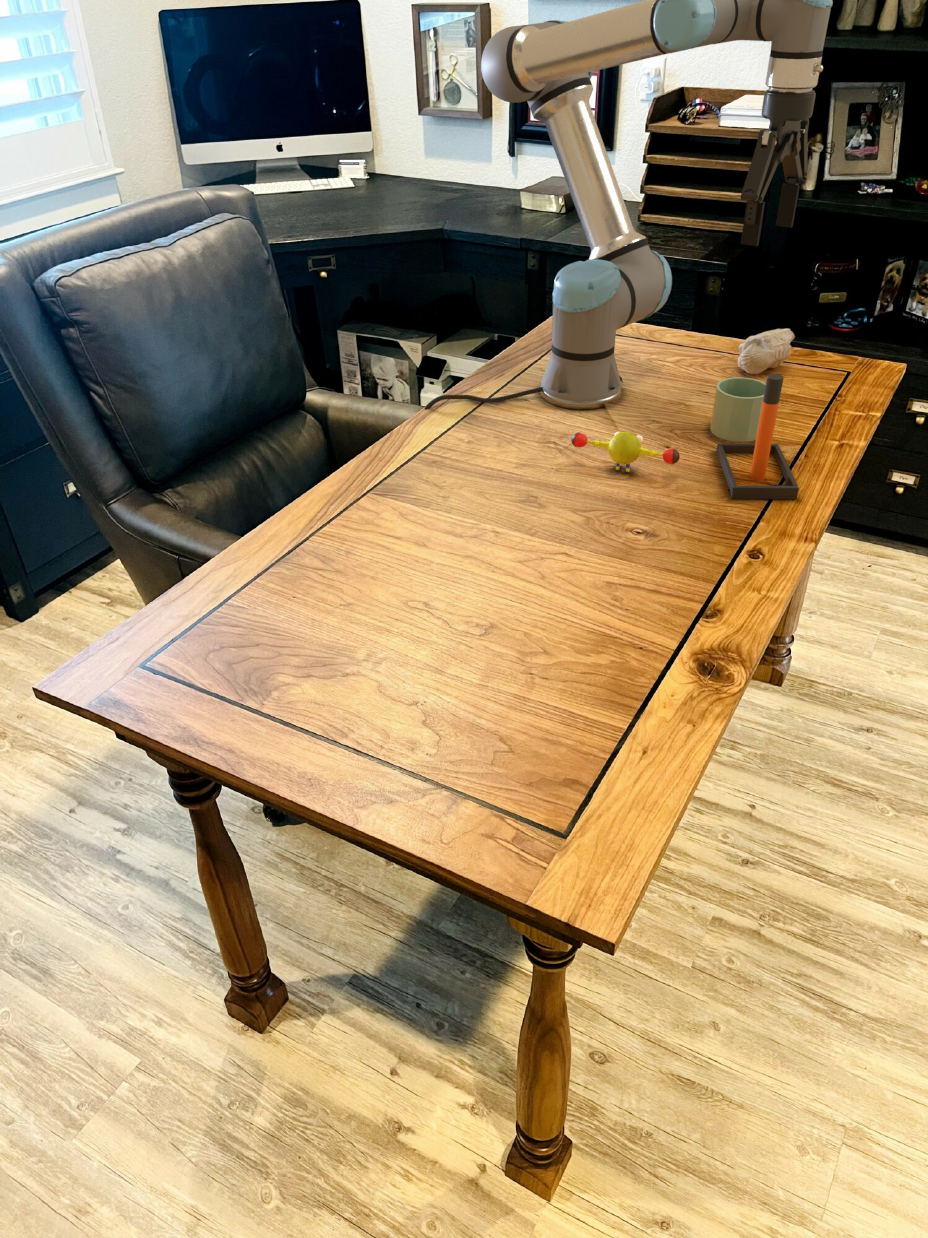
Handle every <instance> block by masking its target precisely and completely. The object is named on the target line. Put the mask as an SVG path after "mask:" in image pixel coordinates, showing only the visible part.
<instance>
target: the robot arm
mask: <svg viewBox="0 0 928 1238" xmlns="http://www.w3.org/2000/svg"><path fill="white" fill-rule="evenodd" d="M833 3H834V2H833V0H641V1H638V2H634V3H631V4H626V5H624V6H620V7H616V8H612V9H609V10H606V11H602V12H599V13H595V14H591V15H587V16H585V17H581V18H576V19H573V20H570V21H566V20H558V19H553V20H550V19H549V20H546V21H543V22H538V23H529V24H523V25H522V24H521V25H513V26H508V27H504V28H503V29H500V30H499V31H497V32H496V33H494V34H493V35H492V36H491V37H490V38H489V40H488V41H487V43H486V44H485V47H484V49H483V51H482V55H481V61H480V66H481V67H480V68H481V69H480V70H481V76H482V79H483V81H484V84H485V86H486V87H487V89H488V91H489V92H490V93H491V94H492V95H493V96H494V97H496V98H497V99H499V100H502V101H503V102H506V103H516V104H517V103H525V102H527V104H528V107H529V109H530V112H531V116H532V117H533V120H536V121H538V122H540V123H543V124H544V125H545V129H546V131H547V134H548V136H549V139H550V142H551V144H552V148H553V150H554V153H555V155H556V158H557V161H558V163H559V167H560V169H561V172H562V174H563V177H564V180H565V183H566V186H567V188H568V191H569V194H570V197H571V199H572V202H573V205H574V207H575V210H576V214H577V216H578V218H579V221H580V224H581V227H582V229H583V232H584V235H585V237H586V240H587V243H588V246H589V248H590V254H589V258H588V259H586V260H585V261H582V260H578V261H575V262H572V263H569V264H567V265H565V266H563V267H562V268H561V269H559V271H558V272H557V274H556V275H555V278H554V283H553V290H552V294H551V295H552V297H551V298H552V318H551V319H552V321H551V325H552V326H551V353H550V355H549V359H548V361H547V363H546V367H545V370H544V372H543V375H542V378H541V382H540V386H539V387H536V388H532V389H527V390H523V391H519V392H515V393H511V394H506V395H501V396H497V397H490V398H487V397H479V396H475V395H472V394H443V395H438V396H436V397H435V398H433V399H432V400H431V401H429V402H428V403H427V404H426V405H425V407H424V408H423V409H424V410H426V411H427V410H430V409H431V408H432V407H433V406H434V405H435V404H437V403H439V402H441V401H446V400H469V401H474V402H478V403H483V404H492V403H499V402H505V401H509V400H513V399H517V398H520V397H526V396H528V395H533V394H537V393H540V396H541V398H542V399H543V400H545V401H546V402H548V403H550V404H552V405H554V406H558V407H561V408H565V409H572V410H573V409H574V410H593V409H600V408H605V407H606V405H609V404H611V403H614V402H615V401H617V400H618V399H619V398H620V397H621V394H622V384H624V381H623V377H622V376H621V375H620V373H619V369H618V365H617V362H616V361H617V360H616V357H615V346H616V345H615V344H616V337H617V335H616V334H617V331H618V330H620V329H622V328H625V327H627V326H629V325H632V324H634V323H636V322H639V321H643V320H645V319H646V318H649V317H651V316H652V315H653V314H655V313H657V312H659V311H660V310H661V309H662V308H663V307H664V306H665V304H666V302H667V301H668V299H669V296H670V294H671V291H672V286H673V275H672V270H671V267H670V265H669V262H668V261H667V259H666V258H665V257H664V255H662V254H659V252H658V251H655V250H653V249H652V250H651V247H650V245H649V242H648V240H647V237H646V236H645V235H643V234H640V233H639V232H637V231H636V230H635V228H634V225H633V223H632V220H631V216H630V214H629V212H628V211H629V210H628V208H627V206H626V204H625V201H624V197H623V194H622V192H621V188H620V185H619V183H618V181H617V178H616V175H615V174H616V173H615V172H614V169H613V167H612V164H611V161H610V158H609V155H608V151H607V149H606V146H605V143H604V141H603V138H602V135H601V133H600V129H599V127H598V124H597V120H596V118H595V116H594V112H593V109H592V106H591V104H590V99H591V96H592V93H593V91H594V85H593V83H592V81H591V79H592V76H593V75H594V72H596V71H600V70H605V69H609V68H613V67H617V66H621V65H625V64H630V63H633V62H639V61H643V60H647V59H650V58H655V57H660V56H664V55H669V54H674V53H678V52H683V51H687V50H691V49H692V50H693V49H696V48H701V47H706V46H710V45H711V46H712V45H718V44H724V43H729V42H735V41H750V42H751V41H752V42H753V41H754V42H769V43H770V42H771V43H770V53H769V59H768V64H767V70H766V77H765V86H766V87H768V89H766V90H765V91H764V94H763V100H762V101H763V102H762V106H761V116H762V118H764V119H766V120H769V123H770V124H769V127H768V129H760V130H759V132H758V135H757V141H756V146H755V149H754V153H753V155H752V159H751V162H750V165H749V168H748V171H747V173H746V174H747V175H746V178H745V180H744V184H743V187H742V189H741V193H740V201H743V202H745V203H746V204H745V211H744V217H743V225H742V232H741V238H740V245H746V246H751V247H758V246H759V243H760V239H761V232H762V227H763V226H762V225H763V219H764V214H765V213H764V211H765V206H766V201H764V198H765V196H766V193H767V192H768V189H769V186H770V184H771V181H772V180H773V177H774V174H775V172H776V171H777V170H776V169H777V167H778V165H780V164H782V170H783V174H784V175H783V176H784V180H785V182H784V183H782V184H781V190H780V196H779V201H778V207H777V208H778V209H777V215H776V220H775V226H778V227H784V228H793V226H794V221H795V215H796V210H797V203H798V198H799V193H800V187H801V185H806V184H807V182H808V177H807V176H808V173H809V172H808V171H809V170H808V169H809V167H808V161H809V159H808V158H809V157H808V144H809V143H808V134H809V133H808V132H809V125H810V118H811V117H812V116H813V112H814V106H815V102H816V95H817V93H816V91H815V90H814V89H813V88H816V86H817V85H818V83H819V76H820V73H822V72H823V70H824V66H823V64H822V59H823V53H824V46H825V41H826V35H827V30H828V26H829V25H828V24H829V20H830V15H831V11H832V9H831V8H832V7H833Z"/></svg>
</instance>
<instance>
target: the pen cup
mask: <svg viewBox="0 0 928 1238" xmlns="http://www.w3.org/2000/svg"><path fill="white" fill-rule="evenodd" d="M765 385H766V382H764V381H762V380H759V379H755V378H752V377H751V378H750V377H744V376H743V377H742V376H741V377H737V376H735V377H728V378H724V379H721V380H719V381H718V382H717V383H716V385H715V392H714V398H713V404H712V405H713V406H712V412H711V413H712V414H711V420H710V427H709V429H710V430H709V431H710V432H711V434H712V435H714V436H715V437H716V438H718V439H721V440H724V441H728V442H733V443H734V442H735V443H747V442H748V443H750V442H754V441H756V437H757V431H758V425H759V420H760V414H761V408H762V402H763V397H764V391H765Z"/></svg>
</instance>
